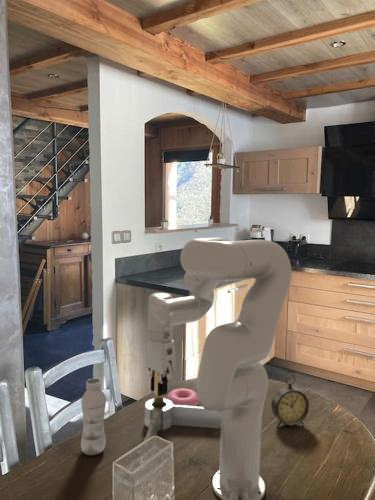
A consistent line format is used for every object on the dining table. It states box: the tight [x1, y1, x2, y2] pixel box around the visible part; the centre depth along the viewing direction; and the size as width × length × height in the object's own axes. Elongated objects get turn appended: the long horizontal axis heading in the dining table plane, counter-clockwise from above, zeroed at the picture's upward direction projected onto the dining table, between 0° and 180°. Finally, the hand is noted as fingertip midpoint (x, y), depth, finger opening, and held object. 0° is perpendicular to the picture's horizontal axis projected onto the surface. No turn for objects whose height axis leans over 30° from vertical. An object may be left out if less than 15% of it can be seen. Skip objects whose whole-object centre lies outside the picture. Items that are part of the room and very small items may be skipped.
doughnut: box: [166, 387, 199, 406], centre depth 139 cm, size 11×11×4 cm
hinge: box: [143, 397, 222, 442], centre depth 118 cm, size 24×24×6 cm
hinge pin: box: [153, 371, 165, 407], centre depth 126 cm, size 3×3×11 cm
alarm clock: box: [270, 374, 310, 429], centre depth 127 cm, size 11×5×16 cm, turn 104°
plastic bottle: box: [80, 377, 107, 456], centre depth 111 cm, size 6×7×20 cm
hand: (158, 391), depth 126 cm, fingers closed on hinge pin, 3 cm apart
